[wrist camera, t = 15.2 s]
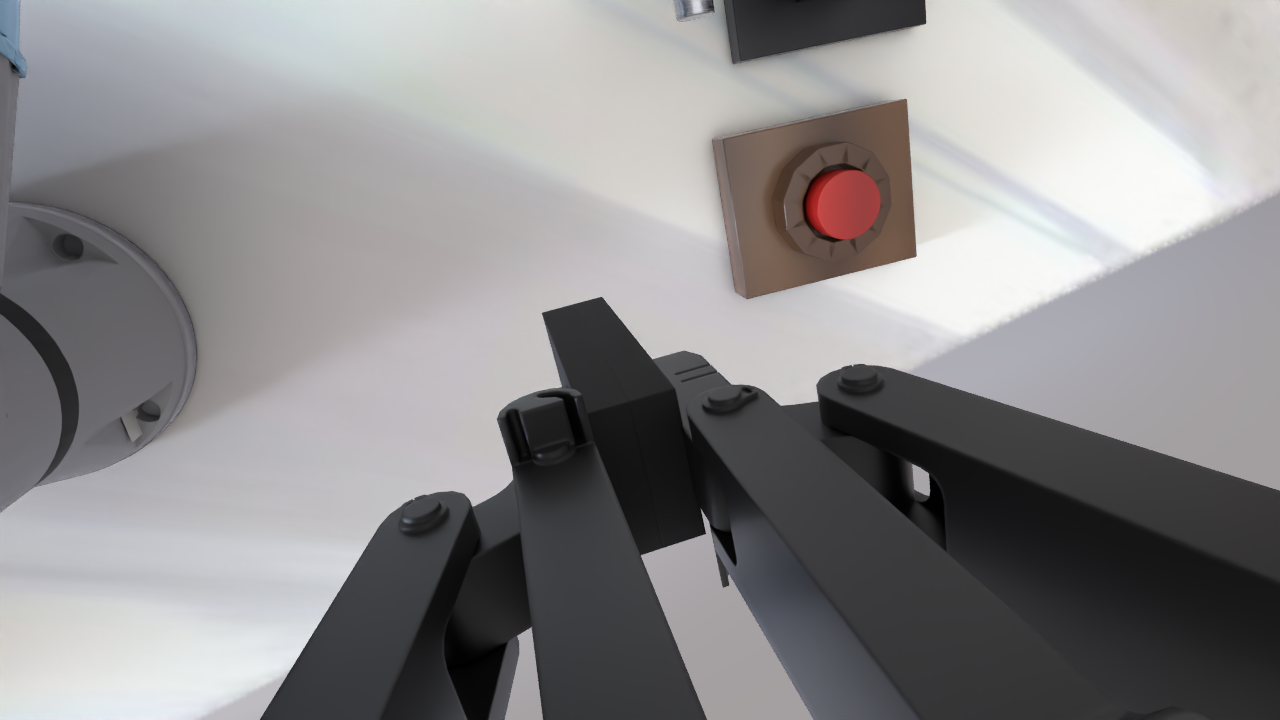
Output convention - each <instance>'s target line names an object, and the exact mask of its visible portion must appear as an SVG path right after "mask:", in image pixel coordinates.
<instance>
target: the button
mask: <svg viewBox="0 0 1280 720" xmlns="http://www.w3.org/2000/svg"><path fill="white" fill-rule="evenodd" d="M880 203H881V200H880V192H879V189H878V187H877V185H876V183H875V181H874V180H873V179H872V178H871V177H870V176H869V175H867V174H866V173H864V172H862V171H858V170H848V169H834V170H830V171H828V172H825V173H824V174H822V175H821V176H820V177H818V178H817V179H816V180H815V181H814V183H813V184H812V186H811V187H810V189H809V191H808V194H807V197H806V205H805V207H806V215H807V218H808V220H809V222H810V224H811V225H812V227H813V228H814V229H815V230H816V231H818V232H819V233H821V234H823V235H826V236H830V237H834V238H837V239H842V240H848V239H853V238H856V237H858V236H860V235H862V234H864V233H865V232H866V231H867V230H868V229H869V228H870V227H871V226H872V225H873V224H874V222H875V220H876V218H877V216H878V213H879V210H880Z"/></svg>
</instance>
